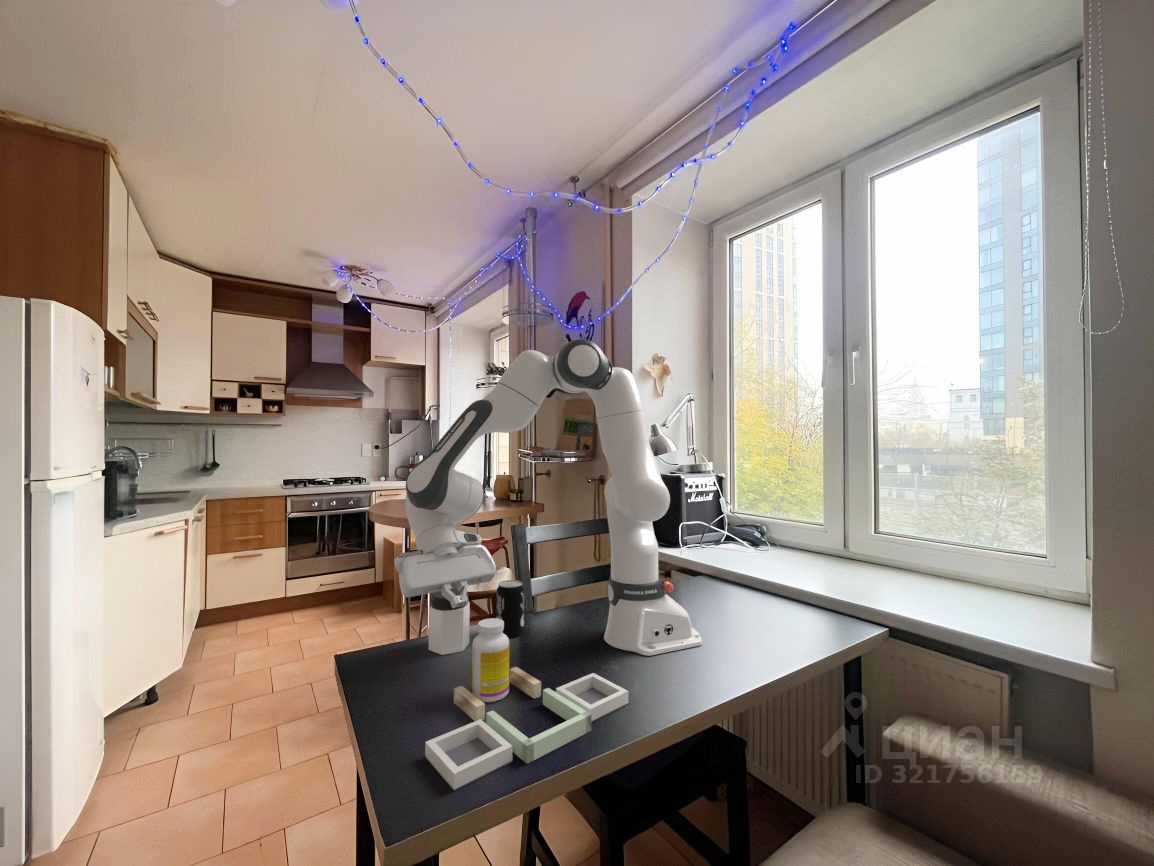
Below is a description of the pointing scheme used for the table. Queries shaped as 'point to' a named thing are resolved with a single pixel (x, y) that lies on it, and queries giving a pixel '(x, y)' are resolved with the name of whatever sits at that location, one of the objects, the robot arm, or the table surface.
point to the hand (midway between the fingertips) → (460, 605)
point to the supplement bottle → (490, 661)
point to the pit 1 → (468, 753)
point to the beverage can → (511, 607)
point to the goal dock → (551, 738)
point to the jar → (448, 625)
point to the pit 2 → (594, 695)
